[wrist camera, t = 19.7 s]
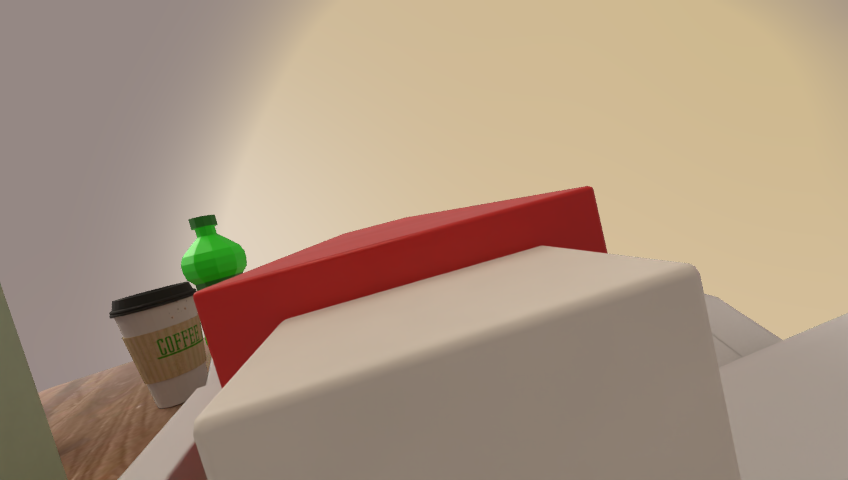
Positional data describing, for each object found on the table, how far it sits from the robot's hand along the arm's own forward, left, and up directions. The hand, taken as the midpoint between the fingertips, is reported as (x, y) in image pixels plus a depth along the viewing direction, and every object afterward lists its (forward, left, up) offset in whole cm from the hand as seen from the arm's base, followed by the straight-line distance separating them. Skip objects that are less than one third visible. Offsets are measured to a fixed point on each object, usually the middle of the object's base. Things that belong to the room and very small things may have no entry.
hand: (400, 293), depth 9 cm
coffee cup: (+54, +4, -15) cm, 57 cm away
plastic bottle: (+68, -6, -15) cm, 70 cm away
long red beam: (+5, -3, -2) cm, 7 cm away
